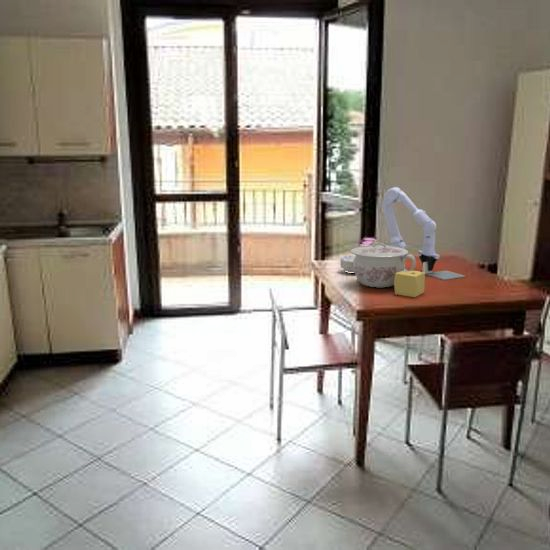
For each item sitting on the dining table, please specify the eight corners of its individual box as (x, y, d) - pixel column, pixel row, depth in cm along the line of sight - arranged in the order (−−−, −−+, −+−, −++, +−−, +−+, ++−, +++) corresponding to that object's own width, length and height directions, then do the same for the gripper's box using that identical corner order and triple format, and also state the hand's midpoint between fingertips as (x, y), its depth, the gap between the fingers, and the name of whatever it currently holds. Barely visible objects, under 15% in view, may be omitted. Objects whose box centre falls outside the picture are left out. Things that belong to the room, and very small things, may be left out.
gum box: (370, 269, 299) (371, 244, 295) (356, 268, 301) (356, 244, 298) (377, 260, 320) (378, 237, 317) (363, 259, 323) (364, 236, 320)
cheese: (403, 289, 258) (404, 268, 255) (425, 293, 251) (426, 271, 248) (393, 294, 250) (394, 273, 247) (415, 298, 243) (416, 276, 241)
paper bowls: (369, 276, 284) (369, 261, 282) (339, 275, 286) (339, 260, 284) (369, 269, 298) (369, 255, 296) (341, 268, 301) (341, 254, 299)
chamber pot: (339, 281, 274) (340, 240, 270) (386, 275, 284) (388, 236, 279) (368, 295, 249) (369, 250, 244) (419, 288, 259) (421, 245, 254)
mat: (444, 280, 272) (444, 279, 272) (425, 274, 284) (425, 273, 284) (465, 277, 278) (465, 275, 278) (446, 271, 290) (446, 270, 290)
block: (424, 274, 286) (425, 262, 284) (422, 273, 287) (422, 262, 286) (432, 273, 288) (433, 261, 286) (429, 272, 289) (430, 261, 288)
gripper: (444, 245, 279) (443, 271, 282) (425, 241, 292) (424, 266, 295) (433, 247, 276) (432, 273, 279) (415, 242, 289) (414, 267, 292)
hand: (427, 269), depth 287 cm, fingers open, 4 cm apart
